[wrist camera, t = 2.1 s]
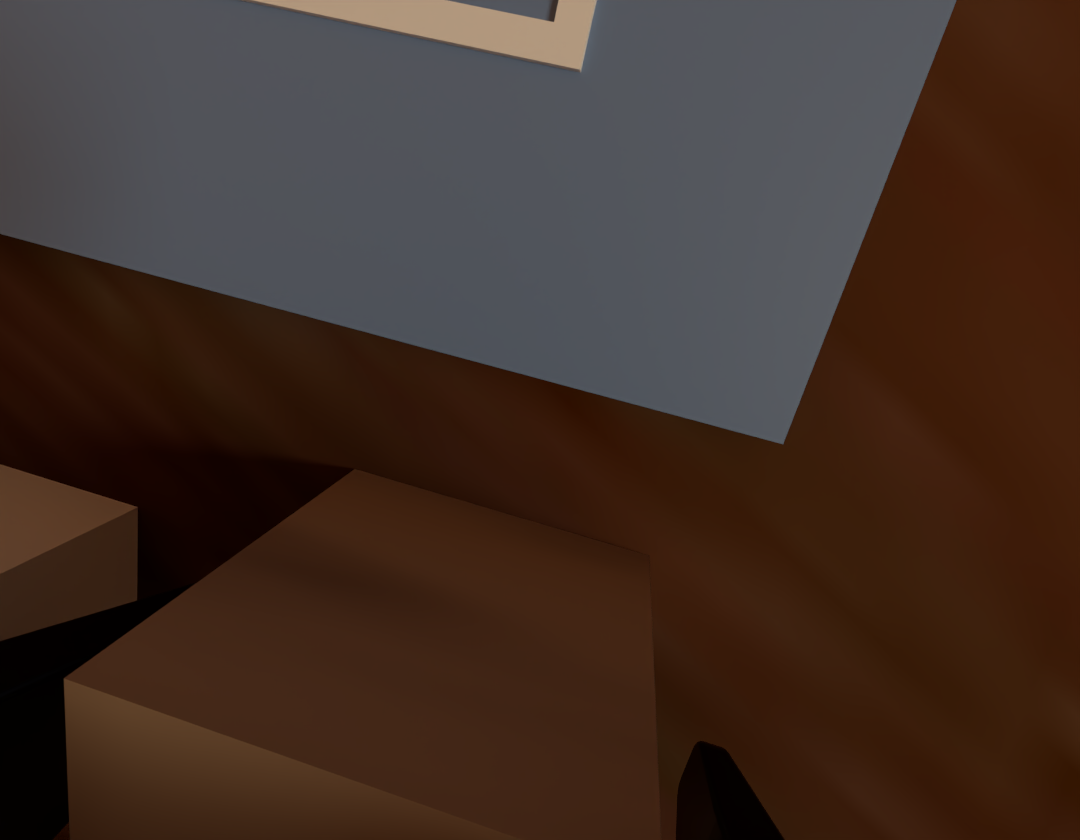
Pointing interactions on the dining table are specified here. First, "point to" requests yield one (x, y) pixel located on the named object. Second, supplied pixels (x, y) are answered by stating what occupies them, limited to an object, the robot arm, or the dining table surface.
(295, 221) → the board
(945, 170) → the dining table surface
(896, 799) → the dining table surface
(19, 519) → the cream block
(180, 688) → the walnut block
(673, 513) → the dining table surface
